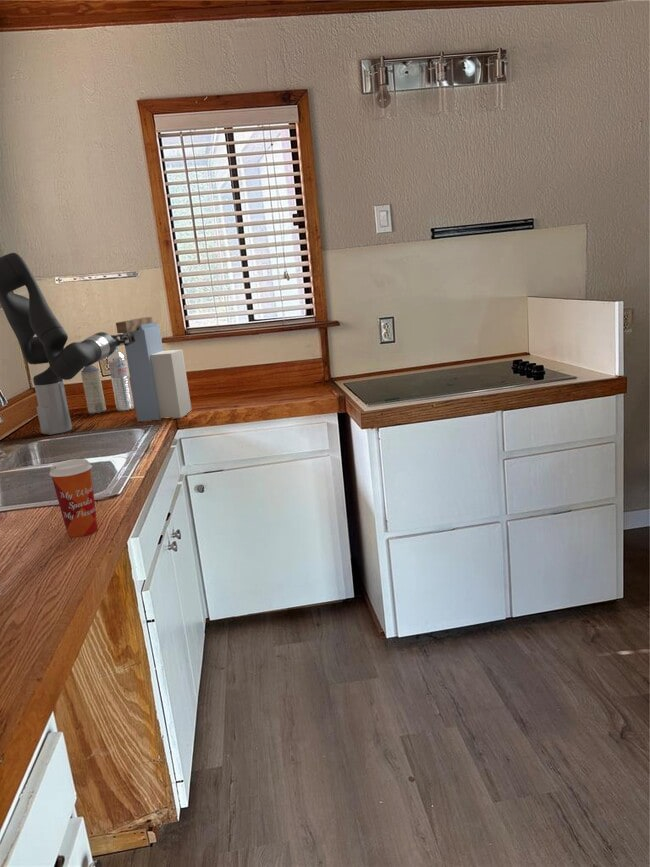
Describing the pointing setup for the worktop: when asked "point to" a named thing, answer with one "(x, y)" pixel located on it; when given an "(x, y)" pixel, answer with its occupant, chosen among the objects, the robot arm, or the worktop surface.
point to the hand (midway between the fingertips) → (119, 335)
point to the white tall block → (171, 383)
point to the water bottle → (120, 381)
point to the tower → (144, 370)
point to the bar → (132, 324)
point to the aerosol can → (93, 389)
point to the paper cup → (75, 496)
